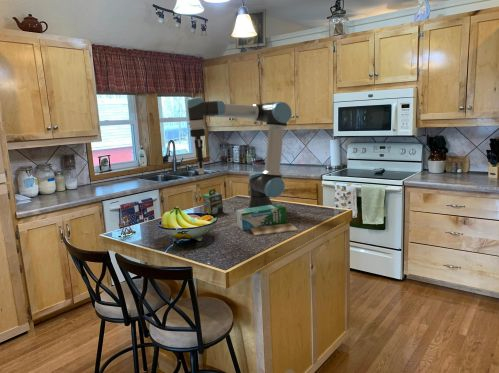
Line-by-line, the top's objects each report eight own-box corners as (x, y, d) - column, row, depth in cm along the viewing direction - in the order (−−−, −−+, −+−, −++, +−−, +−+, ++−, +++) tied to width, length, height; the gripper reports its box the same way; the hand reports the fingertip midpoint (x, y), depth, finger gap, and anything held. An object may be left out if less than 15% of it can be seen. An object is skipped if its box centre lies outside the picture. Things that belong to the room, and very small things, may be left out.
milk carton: (237, 226, 209) (280, 219, 217) (242, 230, 201) (286, 223, 209) (236, 209, 208) (279, 203, 215) (241, 213, 199) (286, 206, 207)
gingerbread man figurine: (122, 237, 203) (119, 215, 201) (117, 236, 205) (114, 214, 203) (136, 232, 210) (133, 211, 208) (131, 231, 212) (129, 210, 210)
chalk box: (215, 209, 248) (213, 187, 245) (223, 212, 241) (221, 188, 238) (203, 212, 243) (201, 189, 240) (211, 215, 236) (209, 191, 233)
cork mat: (254, 235, 191) (254, 234, 191) (250, 228, 203) (250, 227, 203) (297, 230, 195) (297, 229, 195) (291, 224, 206) (291, 223, 206)
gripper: (189, 128, 206) (193, 172, 211) (190, 129, 194) (194, 176, 198) (203, 127, 207) (207, 171, 212) (205, 128, 195) (209, 175, 199)
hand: (201, 173), depth 205 cm, fingers closed
